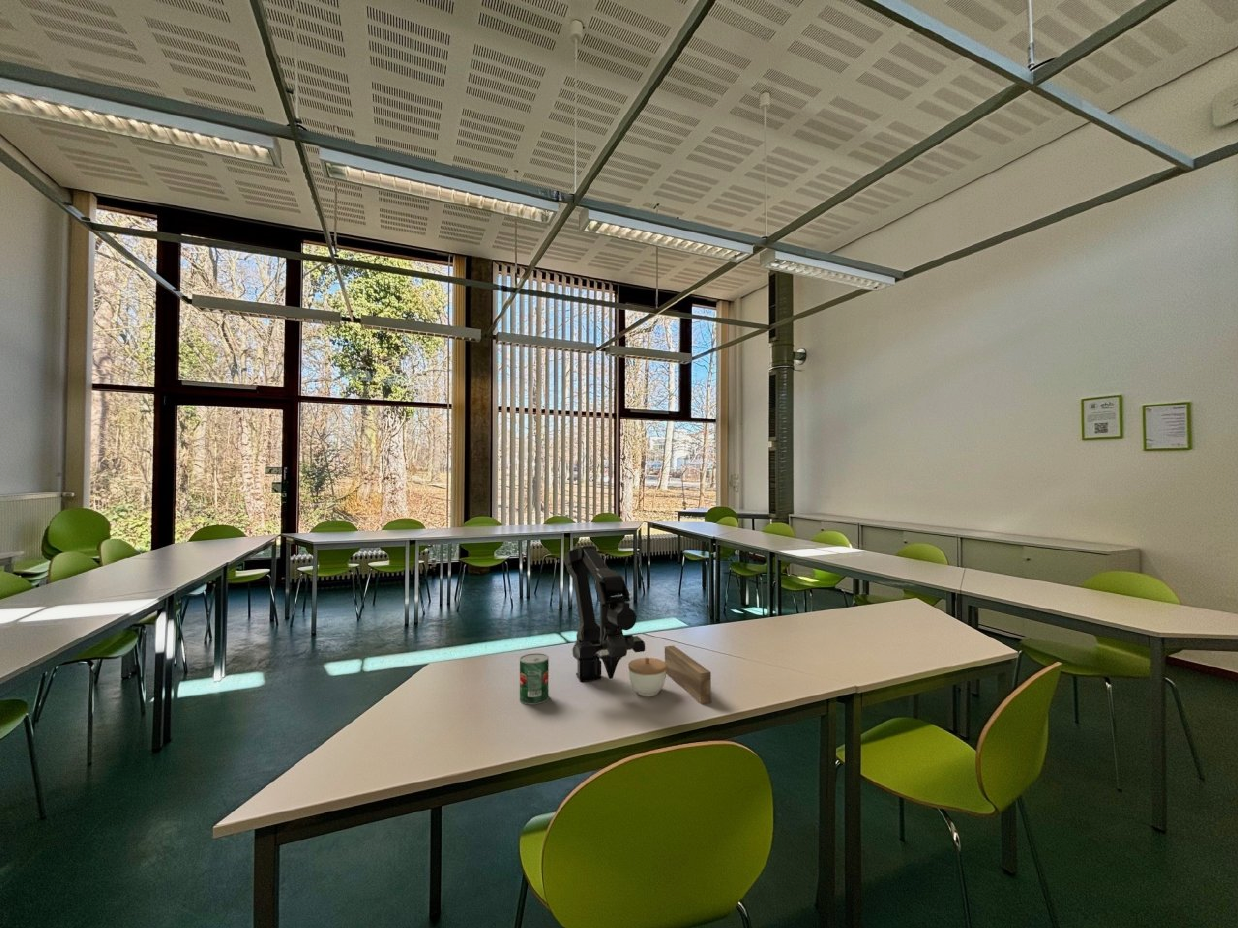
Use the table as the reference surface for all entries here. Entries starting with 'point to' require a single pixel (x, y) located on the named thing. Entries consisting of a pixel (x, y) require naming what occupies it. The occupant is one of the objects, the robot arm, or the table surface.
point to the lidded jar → (647, 675)
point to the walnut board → (688, 674)
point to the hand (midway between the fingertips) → (610, 678)
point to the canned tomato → (534, 678)
